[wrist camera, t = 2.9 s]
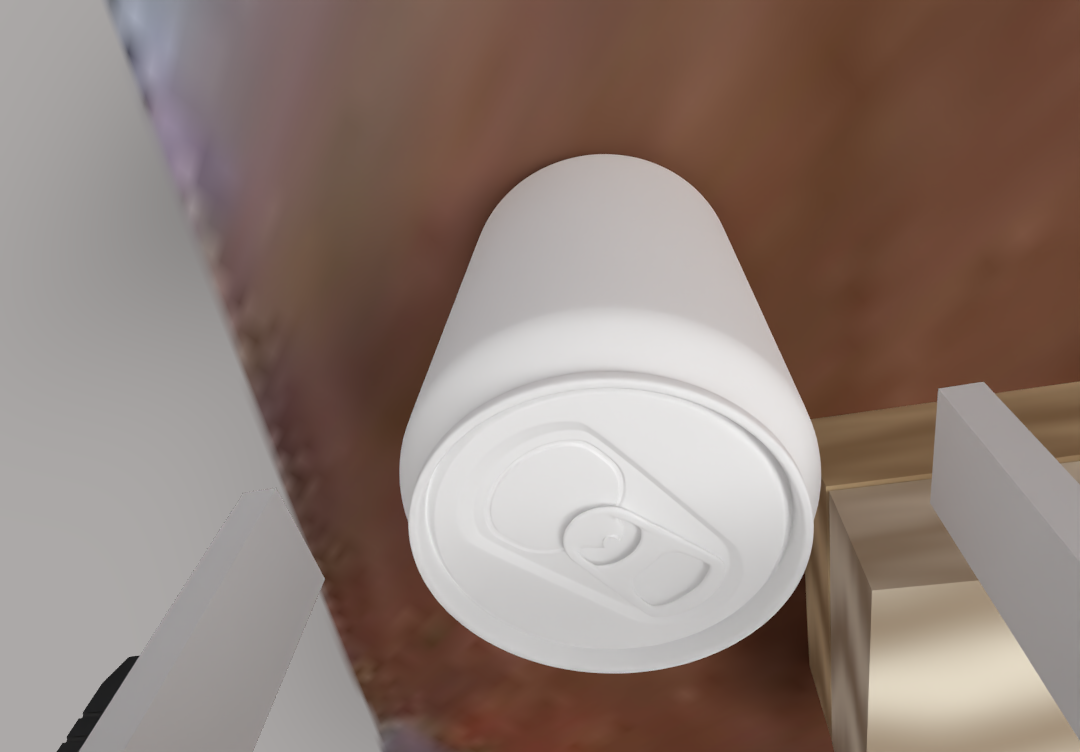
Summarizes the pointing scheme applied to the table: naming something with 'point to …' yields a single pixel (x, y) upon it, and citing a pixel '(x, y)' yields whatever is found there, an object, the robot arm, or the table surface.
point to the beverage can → (609, 431)
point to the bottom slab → (904, 479)
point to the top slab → (924, 638)
